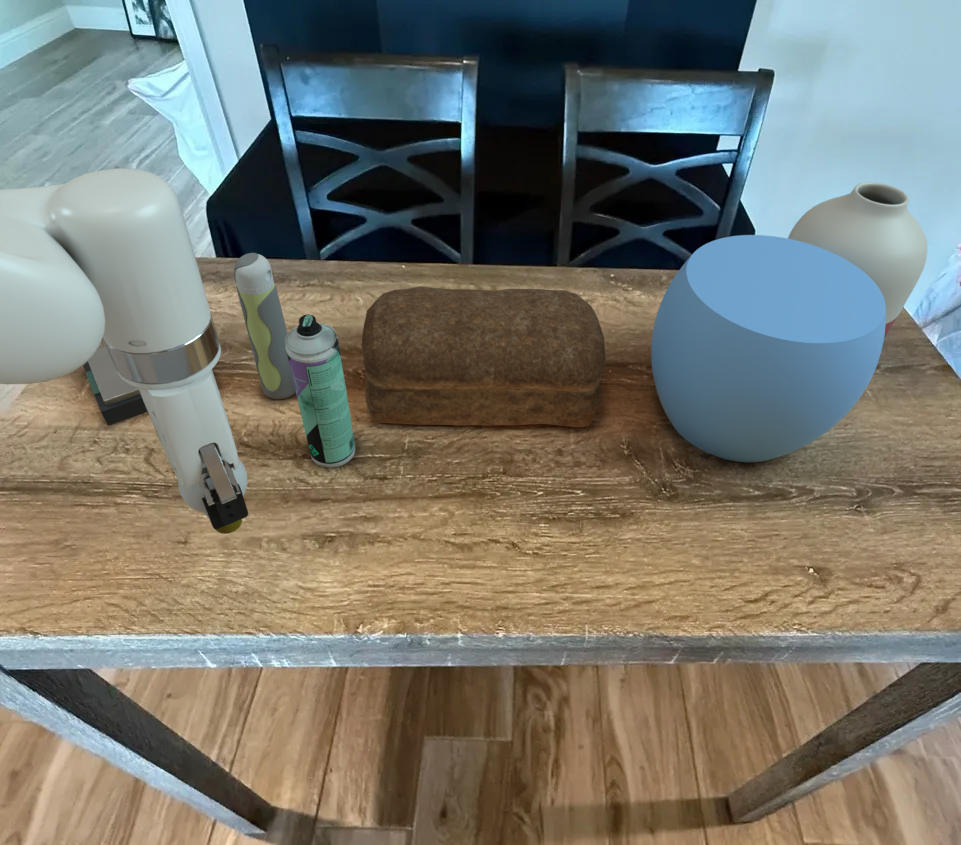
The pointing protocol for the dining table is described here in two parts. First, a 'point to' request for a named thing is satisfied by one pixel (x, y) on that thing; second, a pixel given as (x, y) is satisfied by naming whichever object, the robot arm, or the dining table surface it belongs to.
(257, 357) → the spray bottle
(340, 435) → the spray can
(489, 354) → the bread
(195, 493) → the light bulb
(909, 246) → the vase
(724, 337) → the blue rounded pouf
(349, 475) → the dining table surface
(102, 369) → the scale
